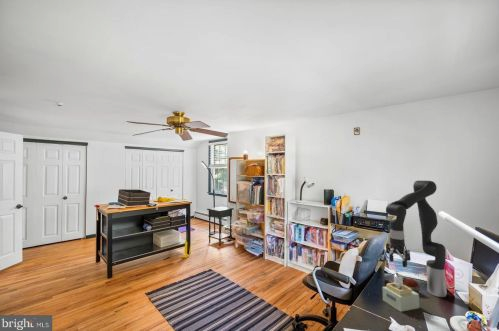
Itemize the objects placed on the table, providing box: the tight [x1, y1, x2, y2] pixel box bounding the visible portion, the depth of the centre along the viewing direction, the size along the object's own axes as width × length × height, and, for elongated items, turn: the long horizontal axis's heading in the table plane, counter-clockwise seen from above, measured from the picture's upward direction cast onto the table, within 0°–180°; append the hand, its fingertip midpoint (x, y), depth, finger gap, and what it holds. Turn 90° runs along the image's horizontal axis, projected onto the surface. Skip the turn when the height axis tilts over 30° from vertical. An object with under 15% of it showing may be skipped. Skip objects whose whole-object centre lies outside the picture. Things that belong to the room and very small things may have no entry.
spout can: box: [393, 272, 404, 290], centre depth 131 cm, size 4×4×11 cm
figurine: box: [384, 276, 421, 293], centre depth 146 cm, size 15×9×20 cm
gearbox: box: [382, 283, 420, 312], centre depth 133 cm, size 14×15×10 cm
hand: (397, 264), depth 132 cm, fingers open, 8 cm apart
